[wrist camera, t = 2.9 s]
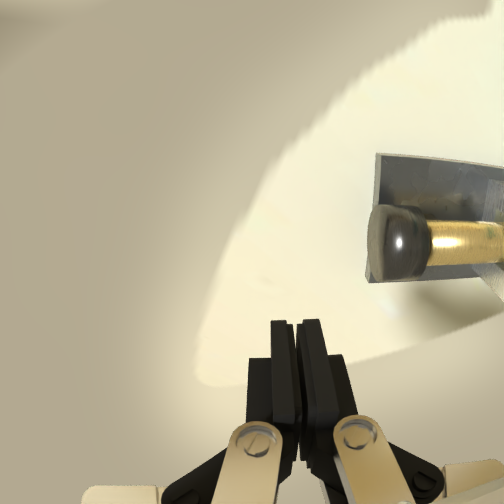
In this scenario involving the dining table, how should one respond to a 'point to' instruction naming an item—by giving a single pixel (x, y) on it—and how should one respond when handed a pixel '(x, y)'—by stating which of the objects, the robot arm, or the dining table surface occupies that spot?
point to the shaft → (427, 242)
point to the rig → (444, 203)
